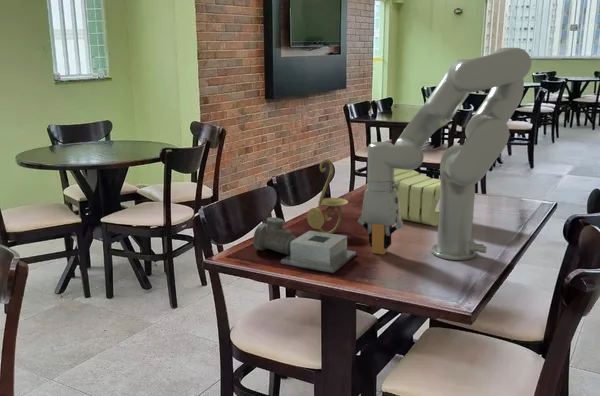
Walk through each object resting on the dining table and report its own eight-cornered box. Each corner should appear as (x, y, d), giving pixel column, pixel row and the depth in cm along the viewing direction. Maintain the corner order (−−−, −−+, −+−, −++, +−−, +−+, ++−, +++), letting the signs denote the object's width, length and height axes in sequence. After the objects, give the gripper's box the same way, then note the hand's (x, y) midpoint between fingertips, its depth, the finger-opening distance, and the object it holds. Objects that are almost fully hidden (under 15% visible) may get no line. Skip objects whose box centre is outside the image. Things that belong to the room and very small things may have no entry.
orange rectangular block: (387, 250, 171) (388, 218, 169) (383, 254, 168) (384, 221, 166) (376, 249, 173) (376, 216, 171) (371, 252, 170) (372, 220, 168)
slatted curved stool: (376, 216, 208) (377, 167, 203) (399, 207, 219) (401, 161, 215) (454, 233, 189) (457, 179, 184) (475, 222, 200) (479, 171, 196)
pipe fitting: (249, 250, 171) (254, 217, 169) (264, 245, 178) (269, 213, 176) (284, 262, 165) (289, 228, 163) (298, 256, 172) (303, 223, 170)
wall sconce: (326, 242, 179) (327, 163, 173) (303, 236, 185) (303, 159, 179) (353, 232, 189) (354, 156, 183) (330, 227, 196) (331, 153, 189)
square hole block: (355, 254, 169) (356, 235, 167) (333, 272, 155) (333, 251, 153) (306, 246, 176) (306, 227, 174) (280, 263, 162) (280, 243, 161)
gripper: (412, 185, 165) (411, 246, 170) (358, 180, 173) (358, 239, 177) (404, 190, 159) (403, 254, 163) (348, 185, 166) (348, 246, 171)
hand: (379, 245), depth 170 cm, fingers closed on orange rectangular block, 3 cm apart
